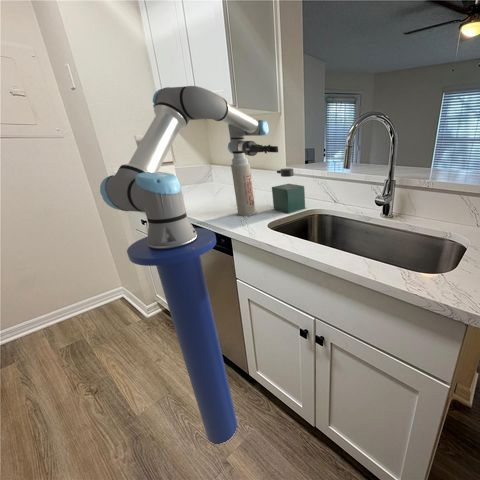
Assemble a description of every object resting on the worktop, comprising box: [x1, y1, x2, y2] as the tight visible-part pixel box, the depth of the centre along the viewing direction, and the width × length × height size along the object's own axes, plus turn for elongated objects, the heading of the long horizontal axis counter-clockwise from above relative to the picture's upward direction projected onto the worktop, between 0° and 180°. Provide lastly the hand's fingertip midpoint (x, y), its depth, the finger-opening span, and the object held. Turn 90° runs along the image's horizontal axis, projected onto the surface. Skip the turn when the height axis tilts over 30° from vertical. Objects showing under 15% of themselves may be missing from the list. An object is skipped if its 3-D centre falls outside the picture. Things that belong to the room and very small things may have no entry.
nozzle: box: [276, 167, 295, 178], centre depth 123 cm, size 10×6×3 cm, turn 49°
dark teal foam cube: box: [271, 183, 306, 214], centre depth 127 cm, size 13×11×11 cm
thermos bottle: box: [230, 151, 256, 217], centre depth 117 cm, size 8×8×28 cm
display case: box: [134, 135, 178, 178], centre depth 147 cm, size 11×11×35 cm
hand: (276, 149), depth 124 cm, fingers closed
